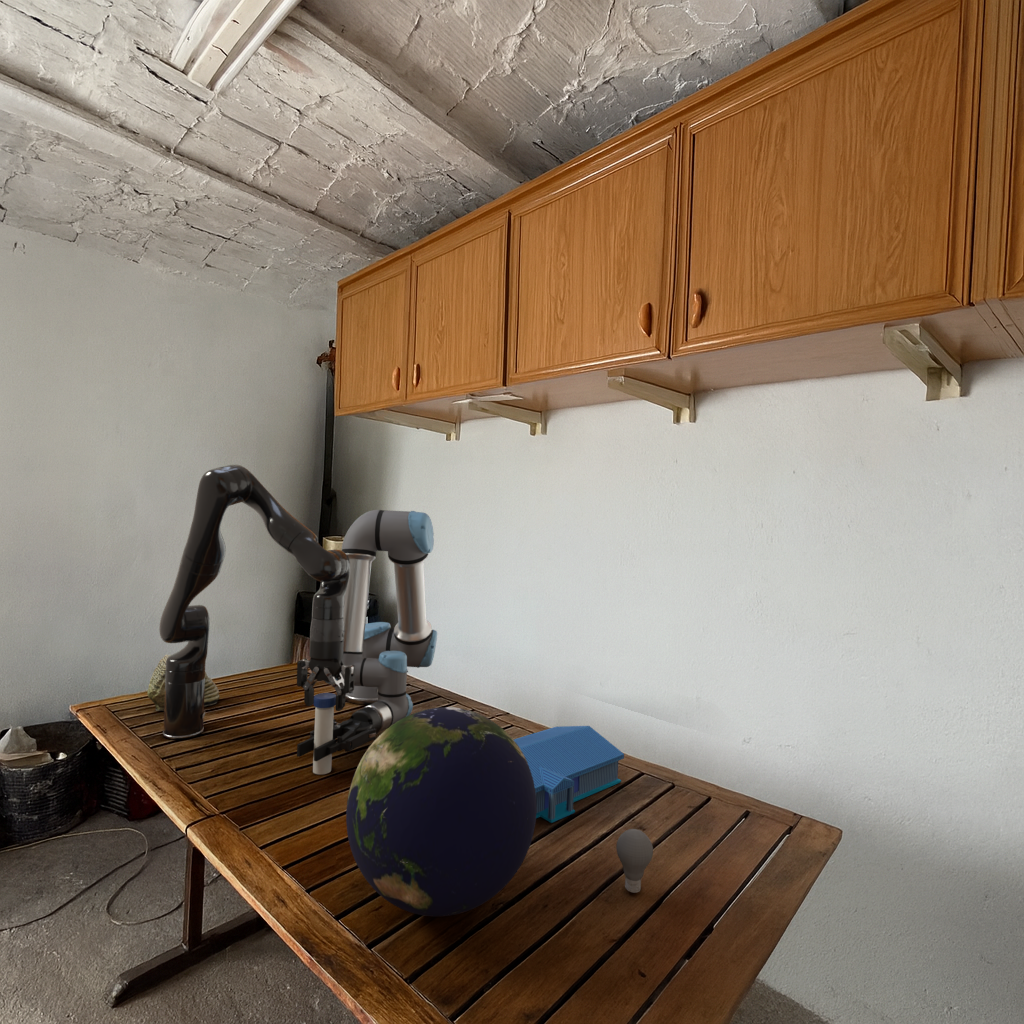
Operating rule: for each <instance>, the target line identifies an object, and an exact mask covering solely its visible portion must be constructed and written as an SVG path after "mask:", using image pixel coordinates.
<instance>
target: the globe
mask: <svg viewBox="0 0 1024 1024" xmlns="http://www.w3.org/2000/svg"><path fill="white" fill-rule="evenodd" d="M356 767H357V768H356V770H355V772H354V774H353V777H352V780H351V783H350V786H349V790H348V795H347V801H346V811H345V816H346V817H345V821H346V822H345V824H346V832H347V833H346V834H347V838H348V844H349V847H350V851H351V854H352V856H353V859H354V862H355V863H356V866H357V868H358V870H359V871H360V873H361V875H362V876H363V878H364V879H365V881H366V882H367V883H368V884H369V885H370V886H371V888H372V889H373V890H374V891H375V892H376V893H377V894H378V895H379V896H380V897H382V898H383V899H384V900H386V901H387V902H388V903H390V904H392V906H395V907H397V908H399V909H401V910H403V911H406V912H408V913H411V914H414V915H419V916H423V917H433V918H434V917H435V918H436V917H440V918H441V917H451V916H455V915H460V914H463V913H466V912H469V911H472V910H474V909H476V908H478V907H480V906H482V905H484V904H486V903H487V902H489V901H490V900H491V899H493V898H494V897H496V895H497V894H499V893H500V892H501V891H502V890H504V888H505V887H506V886H507V885H508V884H509V883H510V881H512V879H513V878H514V876H515V875H516V874H517V873H518V871H519V870H520V868H521V866H522V864H523V862H524V860H525V859H526V856H527V854H528V852H529V849H530V846H531V844H532V840H533V837H534V833H535V828H536V824H537V823H536V821H537V818H536V810H537V805H536V792H535V786H534V781H533V777H532V774H531V771H530V768H529V766H528V763H527V760H526V758H525V756H524V755H523V753H522V751H521V749H520V748H519V746H518V745H517V744H516V742H515V741H514V738H513V737H512V736H511V735H510V734H509V733H508V732H507V731H506V730H505V729H504V728H503V727H501V725H499V724H497V723H496V722H494V721H493V720H491V719H490V718H488V717H486V716H484V715H482V714H480V713H478V712H475V711H472V710H468V709H464V708H459V707H453V706H448V707H447V706H446V707H443V706H442V707H434V708H433V707H432V708H427V709H423V710H420V711H417V712H414V713H411V714H410V715H409V716H407V717H405V718H403V719H401V720H399V721H398V722H396V723H394V724H393V725H392V726H390V727H389V728H387V729H385V730H383V731H382V732H381V733H380V734H379V736H377V738H376V739H375V740H373V741H372V743H371V744H370V745H369V746H368V748H367V749H366V751H365V753H364V754H363V756H362V757H361V758H360V761H359V763H358V765H357V766H356Z"/></svg>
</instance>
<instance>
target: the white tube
mask: <svg viewBox="0 0 1024 1024" xmlns="http://www.w3.org/2000/svg"><path fill="white" fill-rule="evenodd" d="M314 707H315V706H314ZM334 715H335V706H333V707H330V708H317V707H315V709H314V730H315V731H314V749H315V748H317V747H319V746H321V745H323V744H325V743H327V742H329V741H331V740H333V719H334ZM312 757H313V758H312V773H313V774H314V775H327V774H329V773H331V771H332V764H333V753H332V754H330V755H328V756H326V757H324V758H322V759H320V760H318V761H314V754H313V756H312Z"/></svg>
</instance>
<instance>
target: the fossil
mask: <svg viewBox="0 0 1024 1024" xmlns="http://www.w3.org/2000/svg"><path fill="white" fill-rule="evenodd" d="M171 655H172V654H165V655H164V656H163V657H162V658H161V659H160V660H159V662H158V663H157V666H156V667H155V669H154V670H153V672H152V675H151V677H150V680H149V684H148V688H147V697H148V699H149V700H150V701H152V703H153V704H154V706H155V711H158V712H159V711H162V712H163V711H164V705H165V674H166V660H167V658H168V657H169V656H171ZM220 698H221V696H220V690H219V688H218V686H217V685H216V683H215V682H214V681H213V679H212V678H211V677H209V675H208V674H207V672H206V671H205V693H204V707H207V706H213V705H215V704H217V703H218V701H219V699H220Z"/></svg>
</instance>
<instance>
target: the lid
mask: <svg viewBox="0 0 1024 1024" xmlns="http://www.w3.org/2000/svg"><path fill="white" fill-rule="evenodd" d="M336 695H337V694H336V693H332V692H321V693H317V694H314V703H313V706H314V707H317V708H330V707H333V706H334V707H336Z"/></svg>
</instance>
